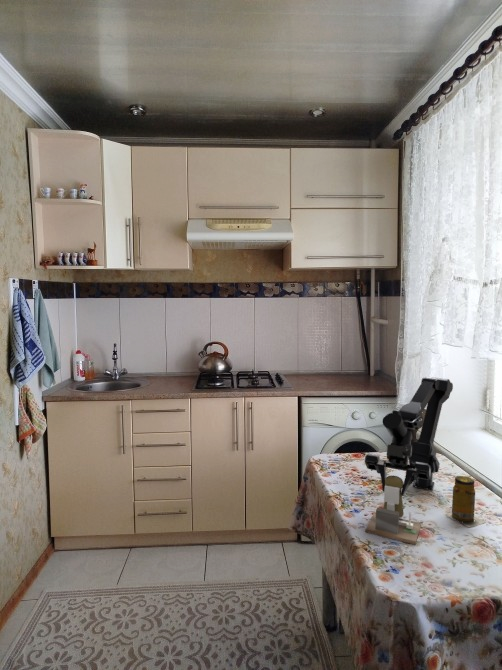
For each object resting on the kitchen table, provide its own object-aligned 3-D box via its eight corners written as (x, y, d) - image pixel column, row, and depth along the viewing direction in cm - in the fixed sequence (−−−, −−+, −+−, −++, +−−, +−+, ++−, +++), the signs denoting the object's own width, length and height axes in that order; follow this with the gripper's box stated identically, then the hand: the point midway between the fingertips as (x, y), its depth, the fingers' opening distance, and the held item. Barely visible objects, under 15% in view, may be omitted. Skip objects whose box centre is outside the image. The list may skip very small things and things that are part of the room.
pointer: (406, 526, 128) (407, 510, 128) (412, 527, 127) (413, 512, 127) (406, 527, 127) (406, 512, 127) (412, 529, 127) (412, 513, 126)
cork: (405, 518, 131) (406, 482, 130) (383, 516, 132) (384, 480, 131) (402, 508, 137) (403, 474, 136) (381, 507, 138) (382, 472, 137)
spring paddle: (384, 517, 133) (385, 485, 132) (413, 524, 129) (415, 491, 128) (382, 521, 131) (383, 488, 130) (412, 528, 127) (414, 494, 126)
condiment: (461, 510, 140) (463, 472, 139) (485, 522, 133) (488, 483, 131) (444, 515, 137) (446, 477, 136) (468, 528, 129) (470, 488, 128)
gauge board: (374, 515, 137) (374, 495, 136) (421, 525, 131) (421, 504, 130) (365, 531, 127) (365, 510, 127) (415, 544, 121) (416, 522, 120)
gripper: (366, 428, 140) (356, 475, 131) (431, 437, 131) (424, 488, 123) (372, 445, 148) (362, 491, 139) (433, 455, 139) (427, 504, 130)
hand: (392, 493), depth 133 cm, fingers closed on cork, 5 cm apart
